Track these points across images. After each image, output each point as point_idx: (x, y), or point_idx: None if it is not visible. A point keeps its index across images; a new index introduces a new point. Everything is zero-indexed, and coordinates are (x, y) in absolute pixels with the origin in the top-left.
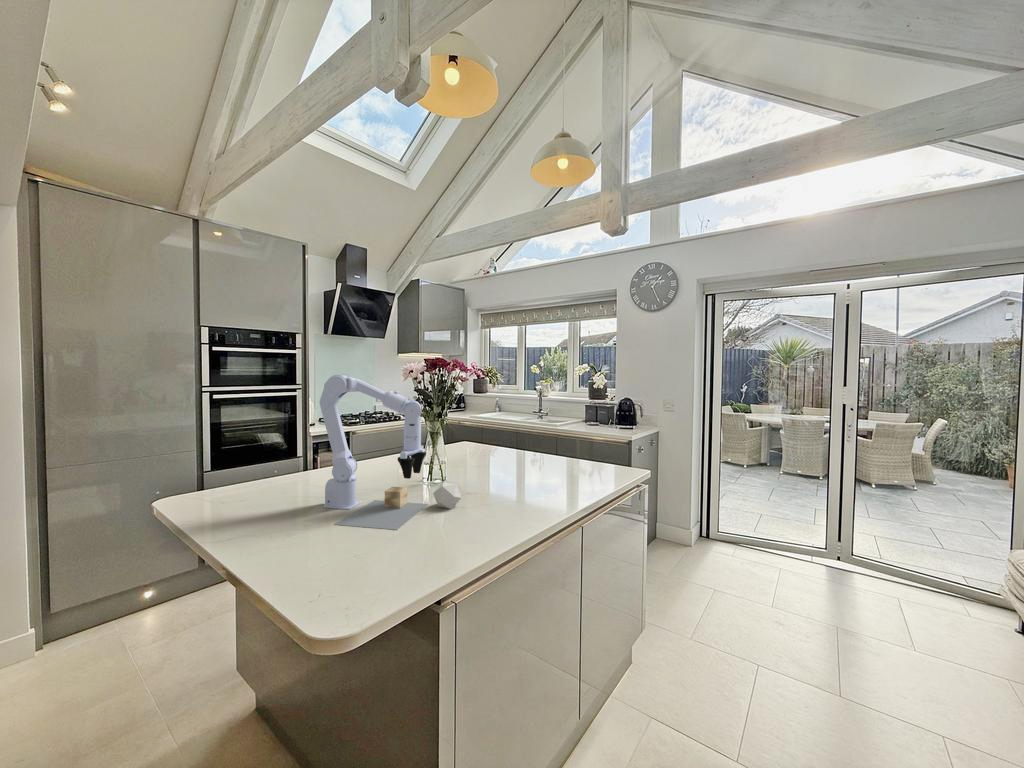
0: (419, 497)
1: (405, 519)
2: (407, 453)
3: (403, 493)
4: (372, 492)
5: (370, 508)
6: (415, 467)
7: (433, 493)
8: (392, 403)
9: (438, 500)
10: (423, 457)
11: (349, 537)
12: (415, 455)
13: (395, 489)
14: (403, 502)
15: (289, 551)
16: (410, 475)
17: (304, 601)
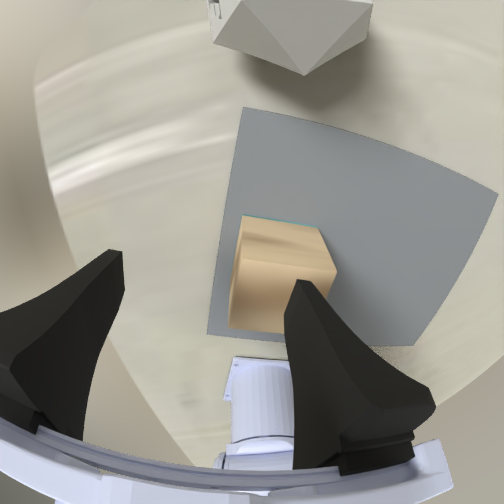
0: (129, 184)
1: (439, 181)
2: (430, 487)
3: (293, 254)
4: (123, 352)
5: None
6: (106, 310)
7: (307, 73)
8: None
9: (356, 43)
10: (25, 324)
11: (488, 287)
12: (65, 407)
13: (281, 304)
14: (286, 229)
15: (490, 339)
16: (318, 292)
17: None
